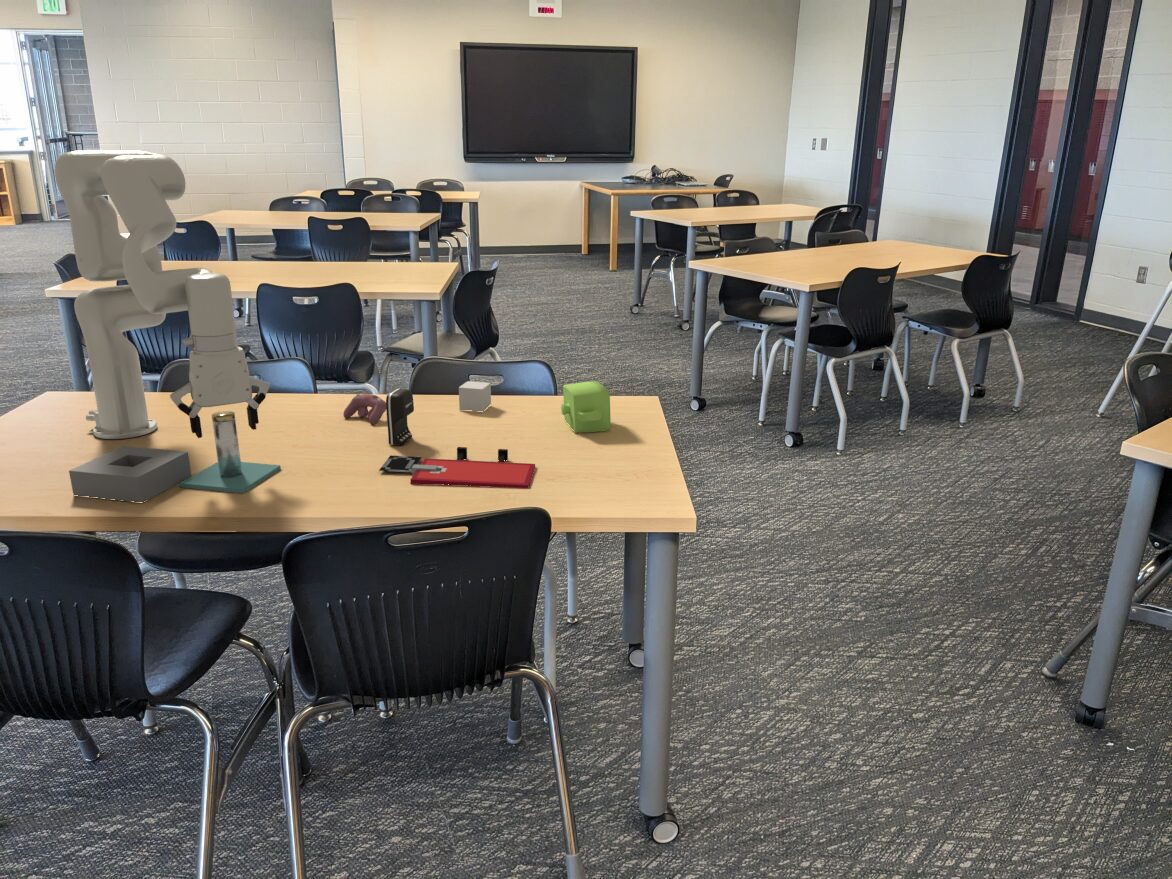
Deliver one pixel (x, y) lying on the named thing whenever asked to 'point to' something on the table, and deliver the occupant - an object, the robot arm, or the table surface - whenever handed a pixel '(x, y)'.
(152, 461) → the block
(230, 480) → the mat
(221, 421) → the peg
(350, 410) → the video game controller
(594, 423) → the gearbox
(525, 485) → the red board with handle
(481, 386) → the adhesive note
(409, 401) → the battery charger
